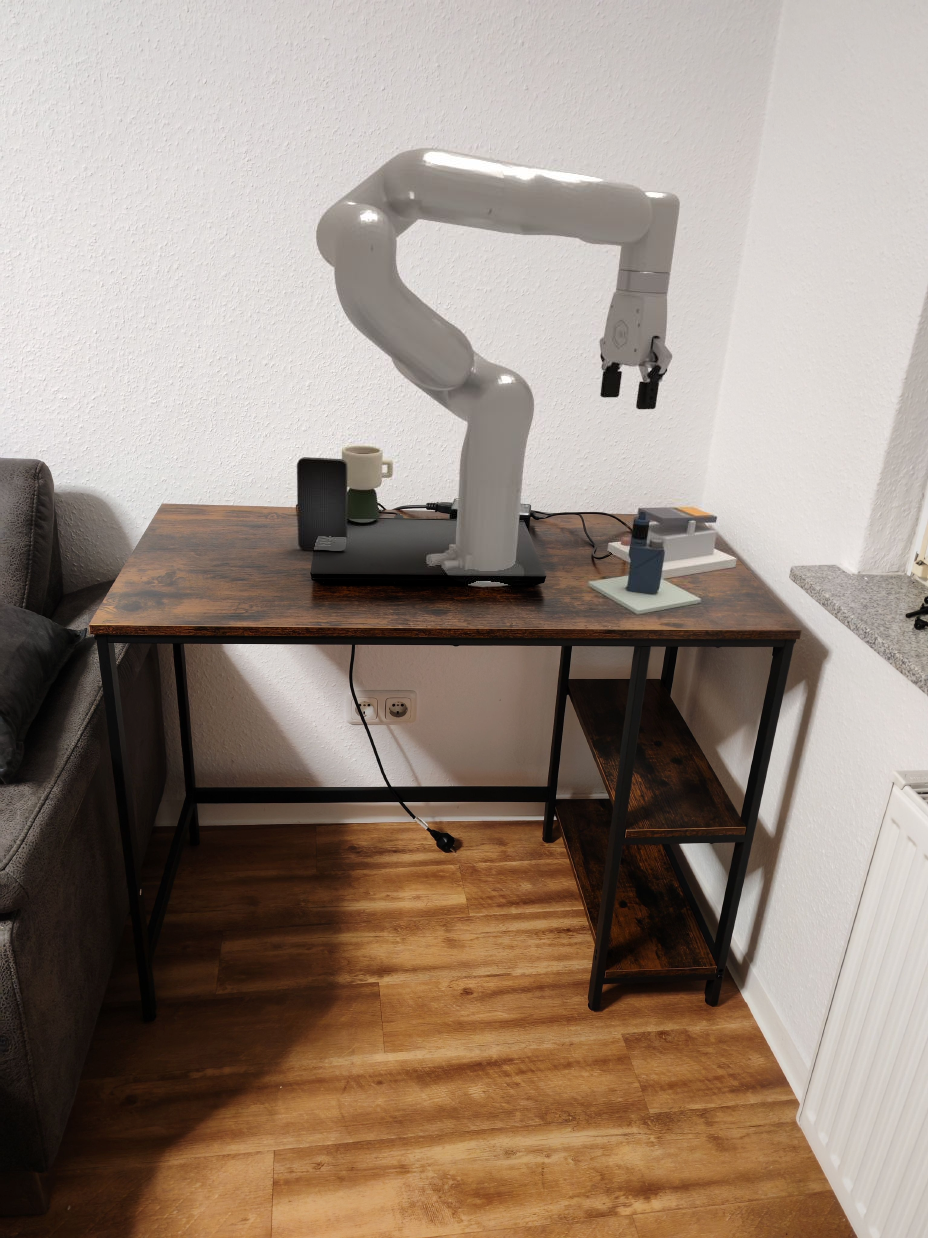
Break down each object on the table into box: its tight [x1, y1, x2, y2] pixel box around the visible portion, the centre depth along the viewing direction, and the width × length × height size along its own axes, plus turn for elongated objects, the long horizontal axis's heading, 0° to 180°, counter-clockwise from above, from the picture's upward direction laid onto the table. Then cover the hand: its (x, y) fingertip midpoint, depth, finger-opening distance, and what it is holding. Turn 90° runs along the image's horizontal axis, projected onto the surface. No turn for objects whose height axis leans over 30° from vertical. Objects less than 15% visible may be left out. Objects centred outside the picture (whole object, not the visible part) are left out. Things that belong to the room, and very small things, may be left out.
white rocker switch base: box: [607, 521, 738, 580], centre depth 151 cm, size 16×14×8 cm
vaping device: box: [626, 512, 665, 594], centre depth 134 cm, size 3×5×12 cm, turn 78°
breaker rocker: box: [637, 506, 718, 524], centre depth 149 cm, size 12×6×1 cm, turn 119°
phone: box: [296, 456, 348, 551], centre depth 143 cm, size 8×1×15 cm, turn 92°
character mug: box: [341, 444, 394, 520], centre depth 159 cm, size 11×7×13 cm, turn 105°
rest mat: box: [587, 574, 702, 615], centre depth 136 cm, size 12×12×1 cm
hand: (627, 402), depth 139 cm, fingers open, 9 cm apart
